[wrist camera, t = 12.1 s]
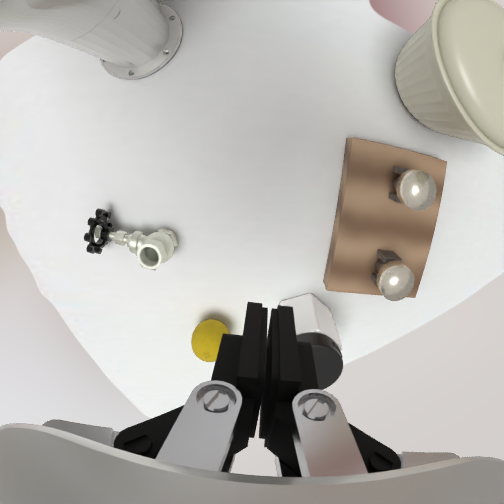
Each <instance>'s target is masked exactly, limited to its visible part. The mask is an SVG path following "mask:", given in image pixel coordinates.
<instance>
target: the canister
mask: <svg viewBox="0 0 504 504" xmlns="http://www.w3.org/2000/svg"><path fill="white" fill-rule="evenodd" d="M395 79H396V85H397V88H398V92H399V94H400V97H401V99H402V101H403V103H404V105H405V106H406V107H407V109H408V111H409V112H410V113H411V114H412V115H413V117H414V118H416V119H417V120H418V121H419V122H420V123H421V124H424V125H425V126H426V127H427V128H429V129H432V130H433V131H436V132H439V133H442V134H445V135H449V136H453V137H457V138H460V139H464V140H468V141H473V142H477V143H480V144H484V145H487V146H488V147H490V148H491V149H492V150H494V151H495V152H497V153H499V154H501V155H503V156H504V9H503V8H502V7H501V6H500V5H498V4H497V3H496V2H494V1H493V0H438V1H437V3H436V4H435V6H434V9H433V12H432V16H431V17H430V18H429V19H428V20H427V21H426V22H425V23H424V24H423V25H422V26H421V28H420V29H419V30H418V31H417V32H416V33H415V34H414V35H413V36H412V37H411V39H410V40H409V41H408V42H407V43H406V45H405V46H404V47H403V48H402V50H401V52H400V53H399V55H398V59H397V61H396V67H395Z"/></svg>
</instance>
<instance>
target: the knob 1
mask: <svg viewBox="0 0 504 504" xmlns="http://www.w3.org/2000/svg"><path fill="white" fill-rule="evenodd" d="M392 186H393V188H394V190H396V193H397V196H398V198H399V200H400V202H401V203H402V204H404V205H405V206H407V207H409V208H411V209H413V210H416V211H424V210H426V209H428V208H429V207H430V206H431V205H432V204H433V202H434V200H435V198H436V192H437V190H436V184H435V181H434V179H433V178H432V177H431V176H430V175H429V174H428V173H426V172H424V171H419V170H414V169H410V170H407V171H405V172H403V173H402V174H401V175H400V176H396V177H395V178H394V179H393V181H392Z"/></svg>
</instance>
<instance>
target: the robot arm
mask: <svg viewBox="0 0 504 504" xmlns="http://www.w3.org/2000/svg"><path fill="white" fill-rule="evenodd" d="M156 1H157V0H0V31H17V32H25V33H30V34H34V35H38V36H41V37H45V38H48V39H51V40H54V41H56V42H59V43H62V44H65V45H67V46H70V47H73V48H75V49H78V50H81V51H83V52H86V53H88V54H91V55H93V56H96V57H98V58H100V60H101V63H102V65H103V67H104V69H105V70H106V71H107V72H108V73H109V74H111V75H113V76H115V77H118V78H120V79H126V80H133V79H139V78H143V77H146V76H148V75H151V74H153V73H154V72H156V71H158V70H159V69H160V68H162V67H163V66H164V65H165V64H166V63H167V62H168V61H169V60H170V59H171V58H172V57H173V55H174V54H175V52H176V51H177V49H178V46H179V44H180V41H181V38H182V24H181V20H180V18H179V16H178V15H177V14H176V12H175V11H174V10H173V9H172V8H171V7H169V6H167V5H165V4H162V3H157V2H156ZM168 52H169V54H168V55H167V53H168ZM133 73H134V75H133ZM267 313H268V308H264V307H262V303H253V302H248V304H247V311H246V318H245V324H244V331H243V336H241V335H233V334H225V333H223V334H222V338H221V342H220V346H219V350H218V354H217V358H216V362H215V366H214V370H213V374H212V379H211V381H207V382H203V383H201V384H199V385H198V386H196V387H195V388H194V390H193V391H192V392H191V394H190V396H189V398H188V400H187V402H186V404H185V405H183V406H181V407H179V408H176V409H174V410H172V411H169V412H167V413H165V414H162V415H160V416H157V417H155V418H152V419H150V420H147V421H144V422H142V423H139V424H137V425H134V426H131V427H128V428H126V429H125V430H123V431H121V432H116V431H113V429H112V428H106V427H99V426H92V425H86V424H80V423H74V422H68V421H63V420H50V421H47V422H46V423H44V424H43V425H42V426H41V425H34V424H25V423H13V424H6V425H3V426H1V427H0V504H504V461H503V460H500V459H497V458H492V457H480V456H478V457H462V458H460V457H459V456H457V455H456V454H454V453H424V452H422V453H421V452H402V453H401V454H396V453H395V452H394V451H393V450H392V449H390V448H388V447H387V446H385V445H383V444H382V443H380V442H378V441H377V440H375V439H373V438H371V437H370V436H368V435H367V434H365V433H364V432H362V431H361V430H359V429H357V428H356V427H354V426H353V425H351V424H349V423H348V422H347V419H346V417H345V414H344V412H343V410H342V407H341V405H340V403H339V401H338V400H337V399H336V398H335V397H334V396H333V395H332V394H330V393H328V392H326V391H322V390H319V387H318V381H317V375H316V369H315V363H314V357H313V351H312V345H311V343H310V342H303V341H297V338H296V329H295V320H294V312H293V307H291V306H281V305H278V307H277V309H273V308H272V311H271V318H270V324H269V330H268V337H267ZM260 405H261V409H260ZM259 410H260V428H259V438H262V439H265V444H264V447H267V449H269V450H270V451H271V452H272V453H273V454H275V455H276V456H275V464H276V469H277V474H278V477H271V476H254V475H243V474H234V473H230V471H231V468H232V465H233V462H234V459H235V454H236V453H238V452H239V451H241V450H243V449H244V448H246V447H247V446H248V440H249V437H251V438H254V435H255V431H256V426H257V421H258V415H259Z"/></svg>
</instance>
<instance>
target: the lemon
mask: <svg viewBox="0 0 504 504" xmlns="http://www.w3.org/2000/svg"><path fill="white" fill-rule="evenodd" d="M223 333H225V334H229V330H228V329H227V327H226V326H225V325H224V324H223V323H222V322H220V321H218V320H214V319H209V320H205V321H203V322H201V323H200V324H199V325H198V326H197V327H196V328H195V330H194V332H193V335H192V342H191V343H192V349H193V351H194V353H195V355H196V356H197V357H198V358H199V359H201V360H203V361H206V362H214V361H216V358H217V354H218V350H219V346H220V342H221V338H222V334H223Z"/></svg>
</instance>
